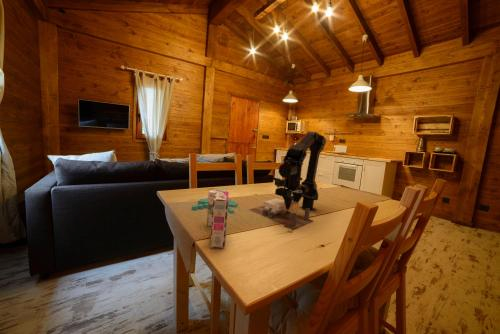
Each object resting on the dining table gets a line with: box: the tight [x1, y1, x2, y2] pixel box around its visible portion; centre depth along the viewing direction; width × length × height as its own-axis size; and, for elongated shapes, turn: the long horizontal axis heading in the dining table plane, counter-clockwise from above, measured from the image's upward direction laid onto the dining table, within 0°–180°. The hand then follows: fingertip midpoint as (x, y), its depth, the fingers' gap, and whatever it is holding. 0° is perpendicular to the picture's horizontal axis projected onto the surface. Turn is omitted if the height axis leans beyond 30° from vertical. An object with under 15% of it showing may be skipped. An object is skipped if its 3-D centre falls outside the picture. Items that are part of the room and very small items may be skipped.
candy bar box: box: [209, 191, 229, 249], centre depth 76 cm, size 11×5×16 cm, turn 5°
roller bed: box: [247, 205, 314, 231], centre depth 105 cm, size 16×27×6 cm, turn 45°
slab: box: [263, 197, 284, 211], centre depth 106 cm, size 10×9×2 cm
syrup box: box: [206, 188, 228, 228], centre depth 89 cm, size 6×6×14 cm
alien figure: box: [191, 197, 239, 214], centre depth 113 cm, size 20×2×20 cm
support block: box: [283, 200, 300, 213], centre depth 101 cm, size 5×5×4 cm
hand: (290, 208), depth 101 cm, fingers closed on support block, 5 cm apart
